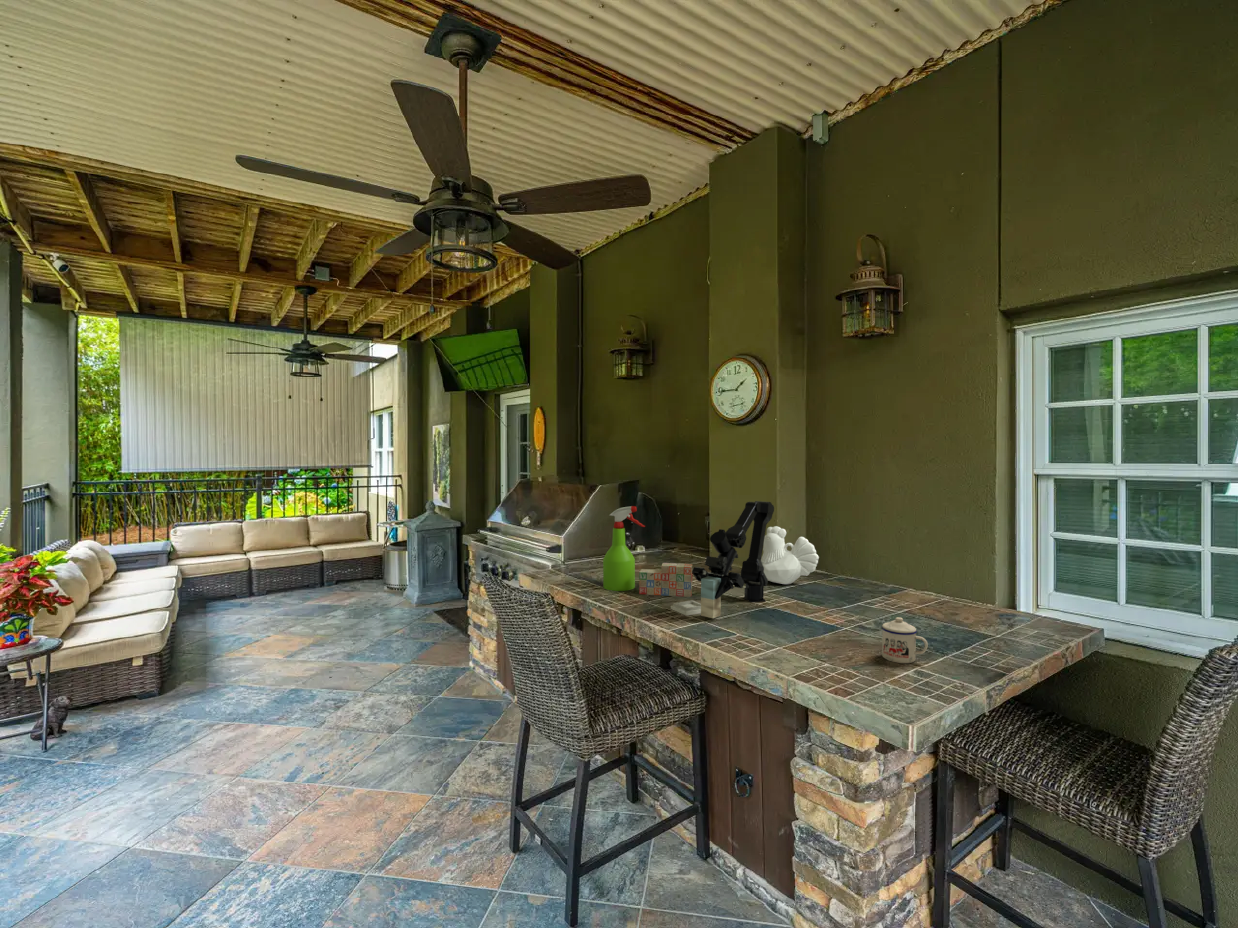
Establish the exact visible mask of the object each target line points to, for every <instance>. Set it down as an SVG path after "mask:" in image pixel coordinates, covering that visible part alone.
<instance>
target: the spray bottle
mask: <svg viewBox="0 0 1238 928" xmlns="http://www.w3.org/2000/svg"><path fill="white" fill-rule="evenodd" d="M636 512H637V506H635V505H631V506H625V507H619V508H618V509H617V508H616V509H615V510H614V511H613V512H611V513H610V514H609V516H611V517H614V523H613V528H612V540H611V541H612V542H611V546H610V547H609V549H608V550H607V552H606V553H605V555H604V557H603V559H602V572H603V573H602V574H603V577H602V579H603V580H602V581H603V582H602V584H603V586H602V587H603V589H605V590H608V591H613V592H625V591H631V590H633V589H635V587H636V579H635V578H636V572H635V571H636V568H635V566H636V559H635V557H634V555H633V553H632V552H631V550H630V549H629V548H628V546H627V545H626V528H625V525H624V522H623V521H624V520H625V519H627V520H629V521H631V522H633V523H634V524H635V525H638V526H639V527H640V528H641V527H642V528H645V527H646V525H645V524H643V523H641V522H640V521H639V520H637V519H635V518H634V516H633V514H632V513H636Z"/></svg>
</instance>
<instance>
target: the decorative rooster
mask: <svg viewBox="0 0 1238 928" xmlns="http://www.w3.org/2000/svg"><path fill="white" fill-rule="evenodd" d="M786 536H787V530H786V529H785V528H782V527H780V526H777V525H775V526H769V527H766V533H765V537H764V544H763V550H762V557H761V562H762V564H763V567H764V574H765V575H766V577H767V579H768V581H769V582H772V583H775V584H782V585H791V584H792V583H794V582H796V581H797V580H798V579H799V578H800V577H801V576H809V575H810V574H811V573H813V572H814V571H816V569H817V568H816V567H817V566H818V564H819V559H820V556H819V555H818V554H817V550H816V548H815V545H814V544H813V543H811V542H809V540H808V539H807V538H806V537H804V536H799V537H798V538H797V539H796V541H795V542H794V544H793V543H792V542H787V543H786V542H785V538H786ZM788 547H790V548H791V550H788ZM768 581H767V582H768Z"/></svg>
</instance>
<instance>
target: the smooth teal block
mask: <svg viewBox="0 0 1238 928" xmlns="http://www.w3.org/2000/svg"><path fill="white" fill-rule="evenodd" d="M720 583H721V578H715V577H710V576H708V577H705V578H702V579H701V581H700V604H701V613H700V616H702V617H706V618H709V619H715V618H717V617H720V616H721V611H722V609H721V607H722V605H721V603H722V601H721V600H722V595H721V596H720V597H719V598H718V599H715V595H716V592H717V590H718V588H719V585H720Z"/></svg>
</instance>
